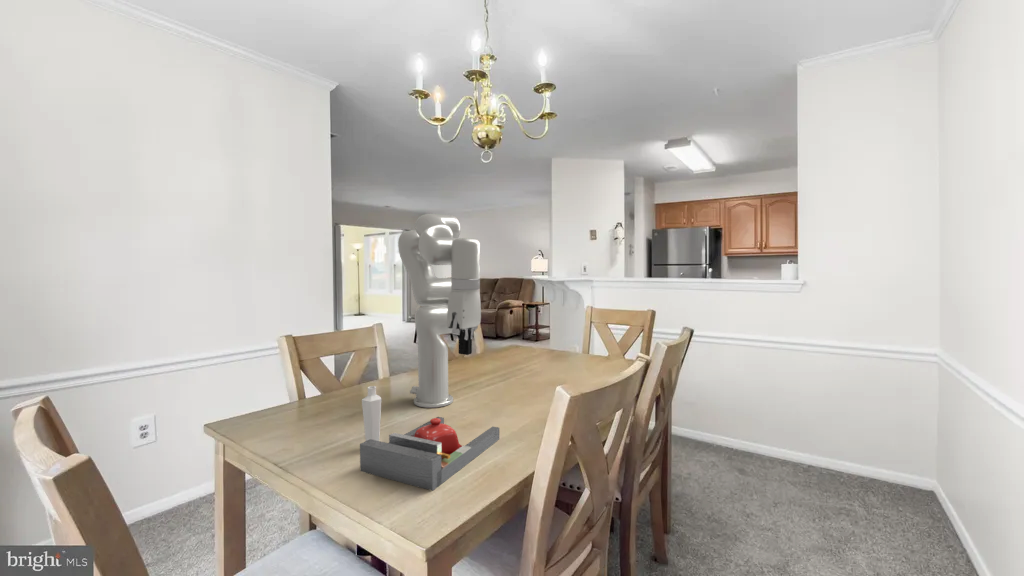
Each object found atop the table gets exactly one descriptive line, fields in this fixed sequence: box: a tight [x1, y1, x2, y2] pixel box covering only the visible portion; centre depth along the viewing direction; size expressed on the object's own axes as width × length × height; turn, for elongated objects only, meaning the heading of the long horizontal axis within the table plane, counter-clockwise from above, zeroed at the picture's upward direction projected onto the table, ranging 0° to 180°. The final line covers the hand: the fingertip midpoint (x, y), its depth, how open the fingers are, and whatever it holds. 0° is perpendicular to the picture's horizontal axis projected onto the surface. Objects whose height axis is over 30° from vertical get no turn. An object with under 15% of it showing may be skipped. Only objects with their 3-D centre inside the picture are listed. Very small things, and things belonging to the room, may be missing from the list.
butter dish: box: [415, 417, 463, 460], centre depth 104 cm, size 12×12×8 cm
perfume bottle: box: [361, 385, 382, 441], centre depth 106 cm, size 5×4×15 cm
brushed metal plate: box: [388, 432, 450, 460], centre depth 96 cm, size 16×2×6 cm, turn 64°
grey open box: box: [359, 416, 500, 492], centre depth 103 cm, size 19×28×6 cm, turn 154°
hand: (465, 353), depth 117 cm, fingers closed
